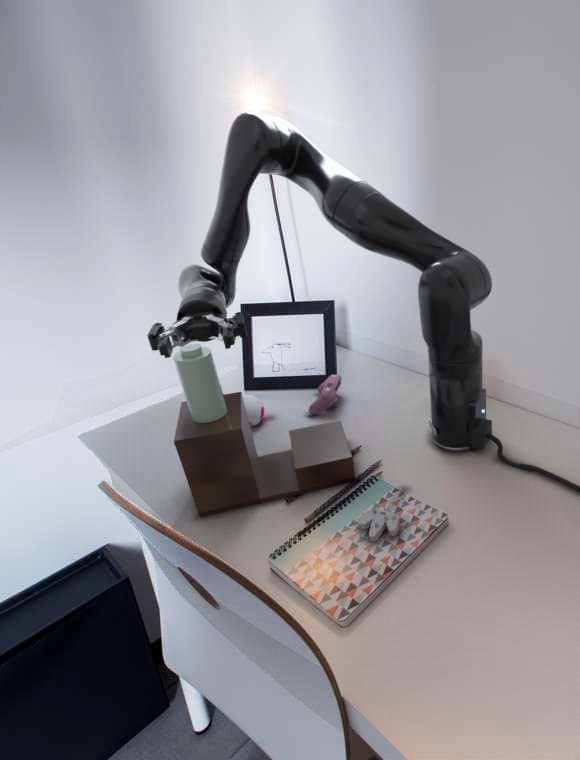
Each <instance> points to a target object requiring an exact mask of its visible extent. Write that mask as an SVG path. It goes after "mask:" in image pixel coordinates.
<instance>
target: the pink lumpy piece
mask: <svg viewBox="0 0 580 760" xmlns="http://www.w3.org/2000/svg"><path fill="white" fill-rule="evenodd" d="M342 379H343V376H341V375H337V374H334V373H331V375H329V376H328V377H327V378H326V379H325V380H324V381H323V382H322V383H321V384H320V385H319V386H318V388H317V392H318V394H319V396H318V398H317V399H316V400H314V401H313V402H312V403H311V404H310V405H309V406H308V413H309V414H310V415H319V414H322V413H323V412H325V411H326V410H327V409H330V408H331V405H332V404H333V403H337V401H338V400H339V399H338V394H337V391H338V389H339V388H340V387H341V384H342Z"/></svg>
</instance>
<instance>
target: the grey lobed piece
mask: <svg viewBox="0 0 580 760" xmlns="http://www.w3.org/2000/svg"><path fill="white" fill-rule="evenodd" d="M404 490H405V488H404V487H402V488H401V489H400V490H399V492H398V494H397V497H396V498H395V500H392V501H391V502H390V503H389V504H388V507H387V509H386V510H385V509H380V508H379V509H378V508H373V509H368V510H366V511H365V512H364V513H363V515H362V516H361V518H359V525H360V527H361V529H362V530H367V529H368V528H369V532H368V535H369V538H370V539H369V540H370V541H371V542H372V543H373V542H376V541H378V540H379V538H380V537H381V535H382V534H383V532H384V531H385V530H386V527H387V530H388V533H389V535H390V536H397V534H398V532H399V528H400V518H399V516H398V515H397V514H396V513H394V512H392V511H389V508H390V506H391V505H392V504H393V503H395V502H396V501H397V500H398V498H399V496H400V494H401V491H404Z"/></svg>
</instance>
